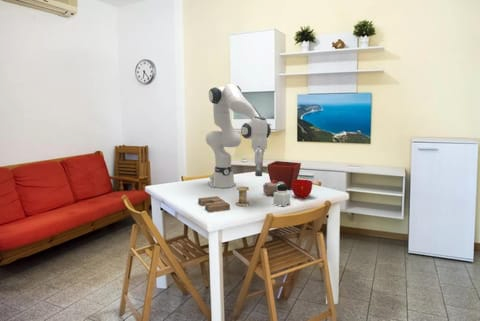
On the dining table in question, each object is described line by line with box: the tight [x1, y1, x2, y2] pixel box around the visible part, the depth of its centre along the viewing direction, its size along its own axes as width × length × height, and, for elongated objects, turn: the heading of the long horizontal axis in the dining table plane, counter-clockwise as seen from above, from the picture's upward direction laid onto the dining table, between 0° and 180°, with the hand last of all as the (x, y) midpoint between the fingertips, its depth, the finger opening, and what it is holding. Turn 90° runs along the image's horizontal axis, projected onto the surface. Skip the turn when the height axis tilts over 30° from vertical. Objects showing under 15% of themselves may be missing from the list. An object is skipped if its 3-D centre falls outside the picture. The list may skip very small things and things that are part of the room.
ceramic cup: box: [291, 179, 313, 199], centre depth 229 cm, size 13×17×10 cm
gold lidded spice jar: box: [254, 156, 264, 177], centre depth 210 cm, size 4×4×11 cm
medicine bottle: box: [272, 184, 291, 207], centre depth 214 cm, size 7×7×12 cm
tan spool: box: [235, 185, 250, 207], centre depth 214 cm, size 8×8×10 cm
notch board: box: [197, 195, 231, 213], centre depth 210 cm, size 20×12×3 cm, turn 24°
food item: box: [262, 179, 285, 197], centre depth 237 cm, size 14×8×10 cm, turn 102°
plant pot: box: [267, 160, 302, 191], centre depth 258 cm, size 19×19×17 cm
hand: (258, 169), depth 210 cm, fingers closed on gold lidded spice jar, 4 cm apart
